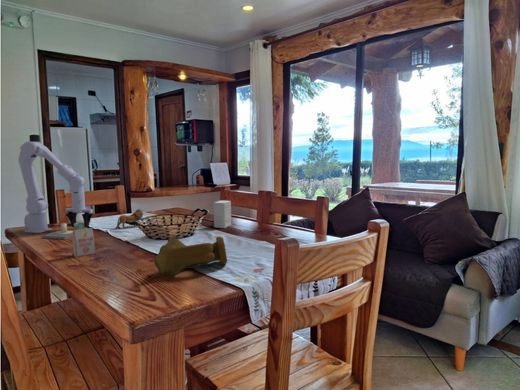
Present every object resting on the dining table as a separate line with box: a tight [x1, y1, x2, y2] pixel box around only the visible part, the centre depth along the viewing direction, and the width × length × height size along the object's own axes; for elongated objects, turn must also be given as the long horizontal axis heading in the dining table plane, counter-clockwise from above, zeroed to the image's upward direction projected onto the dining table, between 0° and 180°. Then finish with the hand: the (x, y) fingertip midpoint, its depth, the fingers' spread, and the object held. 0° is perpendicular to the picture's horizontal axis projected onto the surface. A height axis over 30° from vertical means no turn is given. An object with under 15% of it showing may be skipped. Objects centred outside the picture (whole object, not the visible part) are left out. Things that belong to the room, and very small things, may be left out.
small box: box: [213, 200, 232, 229], centre depth 187 cm, size 8×6×13 cm
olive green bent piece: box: [153, 235, 228, 276], centre depth 121 cm, size 18×13×22 cm
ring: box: [73, 222, 88, 230], centre depth 182 cm, size 6×6×3 cm
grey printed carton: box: [72, 227, 96, 258], centre depth 138 cm, size 4×7×10 cm, turn 129°
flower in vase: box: [68, 186, 93, 225], centre depth 194 cm, size 13×11×25 cm
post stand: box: [42, 222, 74, 240], centre depth 170 cm, size 12×13×6 cm
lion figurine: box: [115, 208, 144, 230], centre depth 186 cm, size 15×5×9 cm, turn 130°
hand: (80, 226), depth 182 cm, fingers open, 7 cm apart
